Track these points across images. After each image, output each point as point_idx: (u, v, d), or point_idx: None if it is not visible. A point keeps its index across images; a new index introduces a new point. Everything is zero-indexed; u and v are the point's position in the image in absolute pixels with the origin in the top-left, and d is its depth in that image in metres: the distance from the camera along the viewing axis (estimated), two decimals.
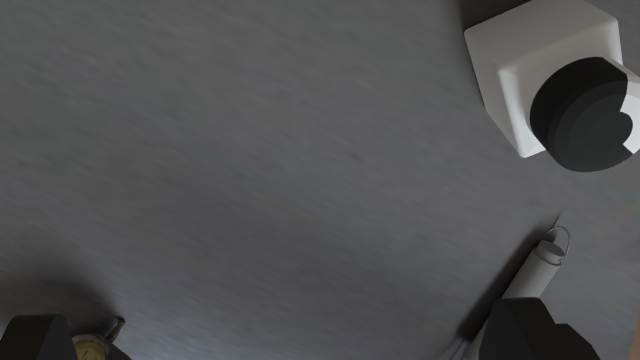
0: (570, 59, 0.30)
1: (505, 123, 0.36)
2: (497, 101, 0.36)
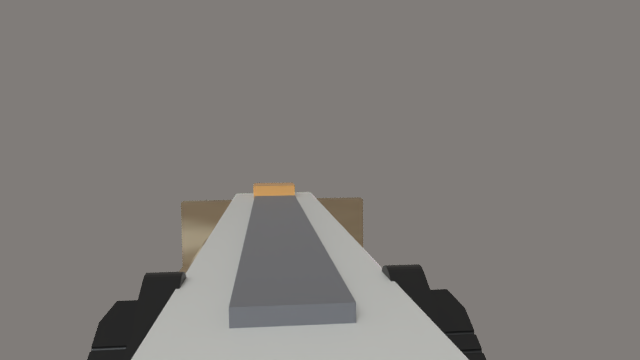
0: None
1: None
2: None
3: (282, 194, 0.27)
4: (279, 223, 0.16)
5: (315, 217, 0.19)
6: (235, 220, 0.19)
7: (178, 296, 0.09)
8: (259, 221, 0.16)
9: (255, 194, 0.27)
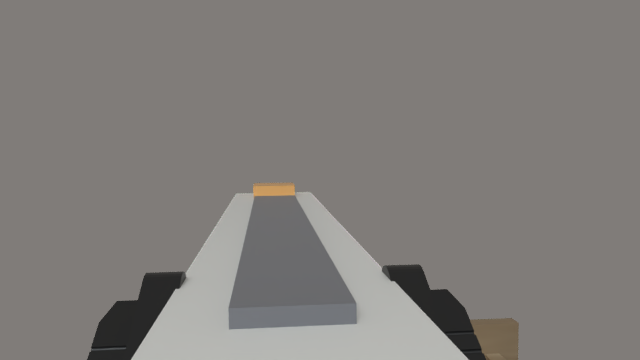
0: None
1: None
2: None
3: (282, 194, 0.27)
4: (279, 223, 0.16)
5: (315, 217, 0.19)
6: (235, 220, 0.19)
7: (178, 297, 0.09)
8: (259, 221, 0.16)
9: (255, 194, 0.26)
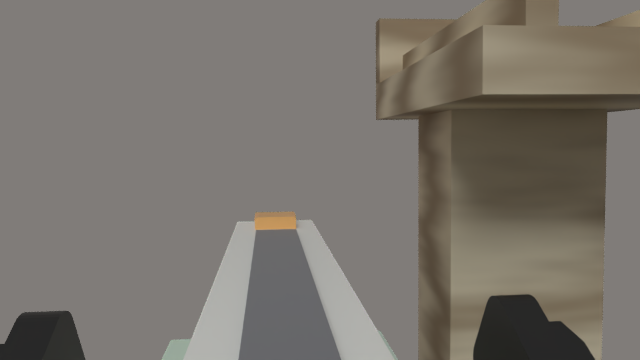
0: None
1: None
2: None
3: (283, 225, 0.27)
4: (280, 276, 0.16)
5: (317, 260, 0.19)
6: (236, 265, 0.19)
7: None
8: (260, 272, 0.16)
9: (256, 225, 0.26)
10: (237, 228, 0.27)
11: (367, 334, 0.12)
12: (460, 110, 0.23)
